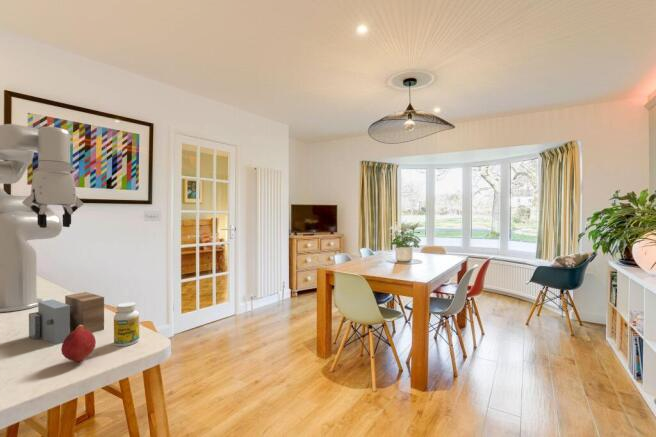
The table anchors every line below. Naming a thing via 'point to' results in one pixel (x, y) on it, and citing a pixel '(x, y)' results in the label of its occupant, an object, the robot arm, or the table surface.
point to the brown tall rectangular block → (86, 311)
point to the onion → (78, 344)
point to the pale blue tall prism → (54, 321)
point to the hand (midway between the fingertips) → (54, 226)
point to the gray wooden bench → (34, 326)
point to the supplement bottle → (126, 324)
